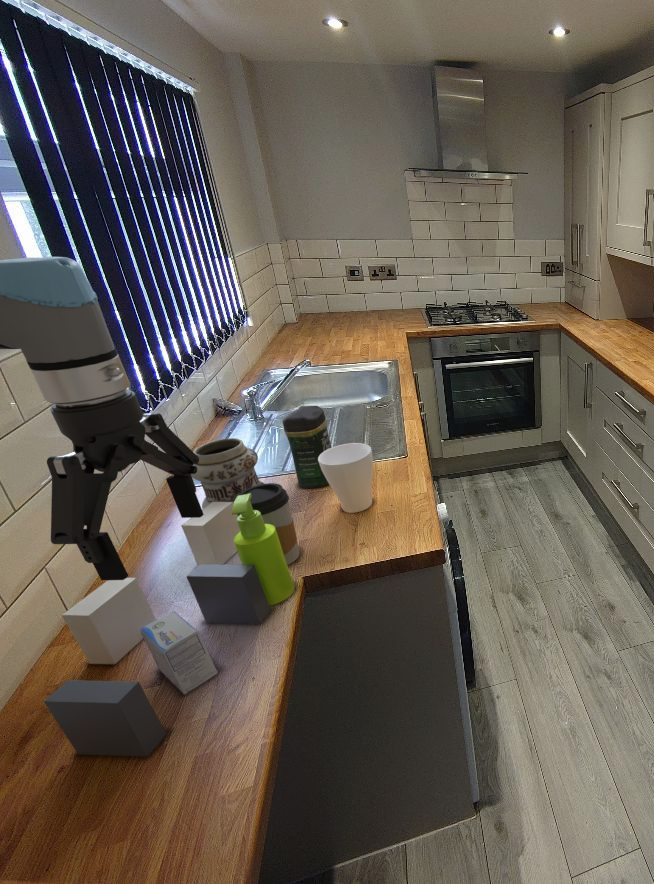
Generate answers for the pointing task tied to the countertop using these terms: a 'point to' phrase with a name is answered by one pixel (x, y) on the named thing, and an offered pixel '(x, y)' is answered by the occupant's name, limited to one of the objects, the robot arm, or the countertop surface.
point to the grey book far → (229, 593)
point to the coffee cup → (276, 515)
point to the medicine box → (179, 651)
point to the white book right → (212, 534)
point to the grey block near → (106, 717)
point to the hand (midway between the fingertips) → (157, 544)
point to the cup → (349, 474)
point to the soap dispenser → (262, 550)
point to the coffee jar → (307, 444)
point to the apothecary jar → (225, 469)
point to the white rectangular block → (110, 620)
